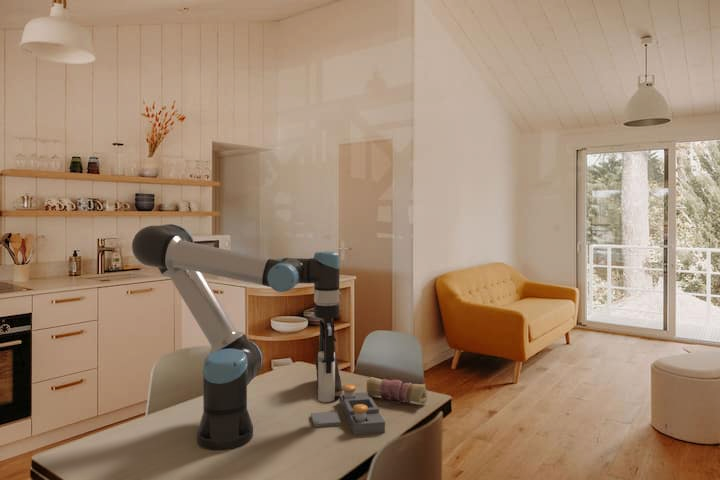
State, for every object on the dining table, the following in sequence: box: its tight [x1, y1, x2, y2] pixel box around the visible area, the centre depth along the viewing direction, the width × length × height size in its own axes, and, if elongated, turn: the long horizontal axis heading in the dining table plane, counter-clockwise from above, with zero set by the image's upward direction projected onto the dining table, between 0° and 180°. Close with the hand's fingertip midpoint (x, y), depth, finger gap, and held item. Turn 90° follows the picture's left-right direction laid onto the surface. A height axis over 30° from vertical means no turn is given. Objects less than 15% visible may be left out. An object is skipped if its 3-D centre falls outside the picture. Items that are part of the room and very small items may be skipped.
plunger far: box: [342, 384, 357, 399], centre depth 161 cm, size 4×4×5 cm
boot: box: [315, 336, 344, 397], centre depth 177 cm, size 9×24×20 cm, turn 14°
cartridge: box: [317, 351, 336, 403], centre depth 150 cm, size 5×5×15 cm
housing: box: [339, 391, 386, 436], centre depth 154 cm, size 9×24×4 cm, turn 12°
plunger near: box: [353, 404, 368, 422], centre depth 145 cm, size 4×4×5 cm
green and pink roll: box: [366, 376, 428, 405], centre depth 167 cm, size 8×8×20 cm
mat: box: [310, 411, 342, 428], centre depth 150 cm, size 8×8×1 cm
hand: (326, 379), depth 150 cm, fingers closed on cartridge, 5 cm apart
